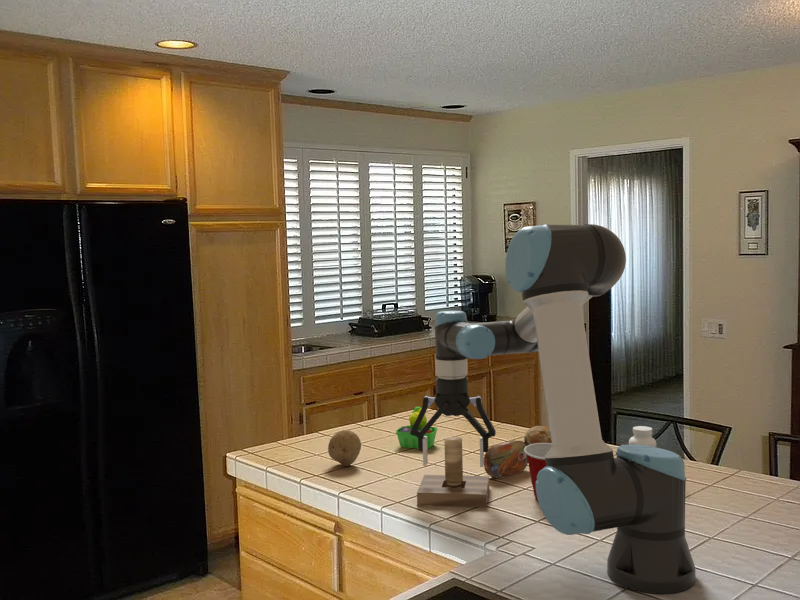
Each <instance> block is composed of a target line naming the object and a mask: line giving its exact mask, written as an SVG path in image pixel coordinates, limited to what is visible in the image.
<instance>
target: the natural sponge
mask: <svg viewBox="0 0 800 600" xmlns="http://www.w3.org/2000/svg"><path fill="white" fill-rule="evenodd" d="M328 442H329V443H328V446H327V451H328V455H329V457H330V458H331V459H332V460H334V461H335V462H338V463H339V464H340V465H341V466H343V467H348V466H351V465H352V464H353V463H354V462H355V461H356V460H357V458H358V456H359V455H360V452H361V449H362V441H361V438H360V437H359V435H358V434H357V433H355V431H352V430H350V429H349V430H348V429H343V430H340V431H338V432H336V433H335V434H334V435H332V436H331V438H330V439H329V441H328Z"/></svg>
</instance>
